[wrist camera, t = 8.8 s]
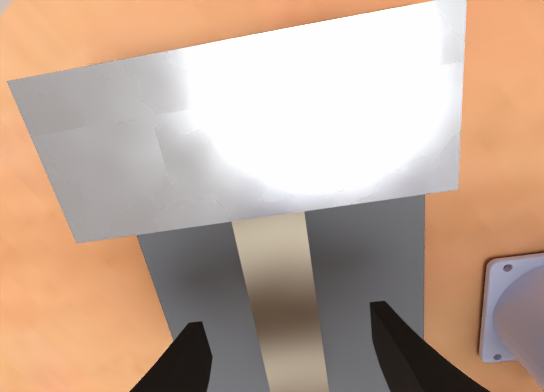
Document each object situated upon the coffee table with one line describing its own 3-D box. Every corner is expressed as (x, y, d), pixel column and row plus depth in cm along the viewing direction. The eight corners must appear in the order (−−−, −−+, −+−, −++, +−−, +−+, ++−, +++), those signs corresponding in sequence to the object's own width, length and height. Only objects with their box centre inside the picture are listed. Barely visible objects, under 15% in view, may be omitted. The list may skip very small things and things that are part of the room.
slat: (226, 112, 15) (208, 121, 11) (287, 101, 15) (289, 107, 11) (281, 379, 21) (282, 444, 17) (325, 375, 21) (335, 439, 17)
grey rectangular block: (380, 36, 14) (466, -6, 7) (384, 146, 15) (458, 189, 9) (124, 83, 14) (6, 81, 8) (155, 181, 16) (76, 243, 10)
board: (416, 8, 14) (426, 2, 13) (417, 420, 23) (423, 434, 22) (90, 69, 15) (77, 67, 14) (215, 438, 25) (212, 452, 24)
